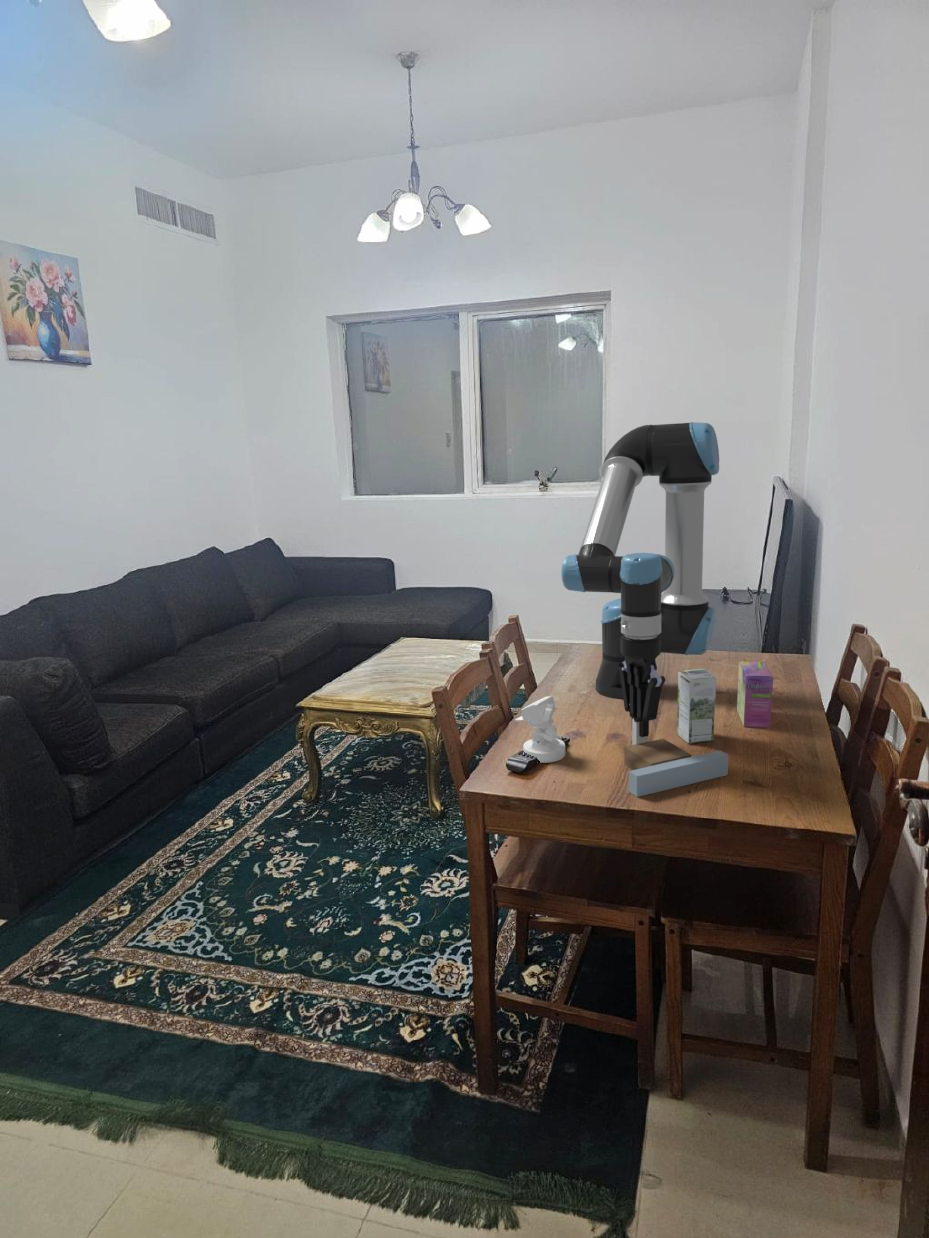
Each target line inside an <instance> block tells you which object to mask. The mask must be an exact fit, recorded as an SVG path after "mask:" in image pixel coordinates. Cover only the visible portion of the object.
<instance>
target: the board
mask: <svg viewBox="0 0 929 1238" xmlns="http://www.w3.org/2000/svg"><path fill="white" fill-rule="evenodd" d="M728 766H729V754H727V753H726V752H723V751H721V750H715V751H711V752H706V753H703V754H698V755H697V754H696V755H692V757H688V758H684V759H680V760H675V761H671V762H666V763H662V764H658V765H653V766H649V767H645V768H640V769H636V770H632V769H631V770H629V771H628V792H629V793H630V794H632V795H633V796H635V797H636V798H639V797H643V796H647V795H650V794H651V795H652V794H654V793H659V792H664V791H668V790H671V789H676V788H680V787H684V786H688V785H692V784H696V783H700V782H704V781H707V780H712V779H716V778H720V777H725V776H728V775H729V774H728V770H729V769H728V768H729V767H728Z"/></svg>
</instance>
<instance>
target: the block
mask: <svg viewBox="0 0 929 1238" xmlns="http://www.w3.org/2000/svg"><path fill="white" fill-rule="evenodd" d="M623 753H624V754H623V755H624V759H623V760H624V762H623V765H624V766H626V767H627V768H629V769H631V771H632V770H636V769H640V768H645V767H649V766H653V765H658V764H662V763H666V762H671V761H675V760H680V759H684V758H688V757H693V755H692V754H691V753H689V752H687V751H686V750H684V749H682V748H680V747H679V746H677V745H675V744H673V743H672V742H671V741H668V740H667V739H665V738H660V739H659V738H658V739H655V740H651V741H649V740H648V742H645V743H640V744H635V745H632V744H630V745H626V746H624V752H623Z"/></svg>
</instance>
